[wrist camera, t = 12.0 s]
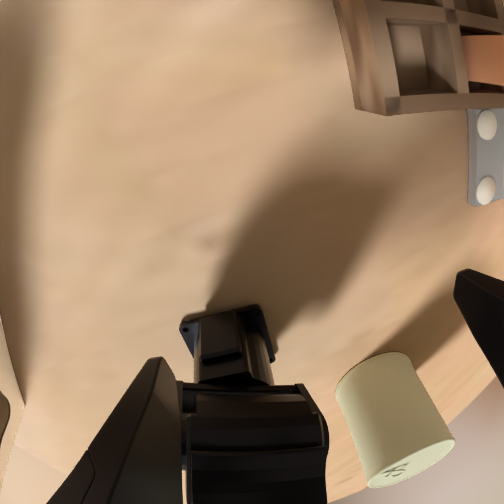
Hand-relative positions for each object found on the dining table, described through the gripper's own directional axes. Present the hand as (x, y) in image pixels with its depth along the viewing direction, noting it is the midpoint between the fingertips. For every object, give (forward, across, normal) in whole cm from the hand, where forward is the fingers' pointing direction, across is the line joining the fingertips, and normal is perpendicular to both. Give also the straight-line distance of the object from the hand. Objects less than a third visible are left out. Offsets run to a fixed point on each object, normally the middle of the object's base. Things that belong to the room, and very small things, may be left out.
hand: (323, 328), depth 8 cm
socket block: (+13, -13, -10) cm, 21 cm away
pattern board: (+13, -21, +1) cm, 25 cm away
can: (+13, -8, +24) cm, 29 cm away
